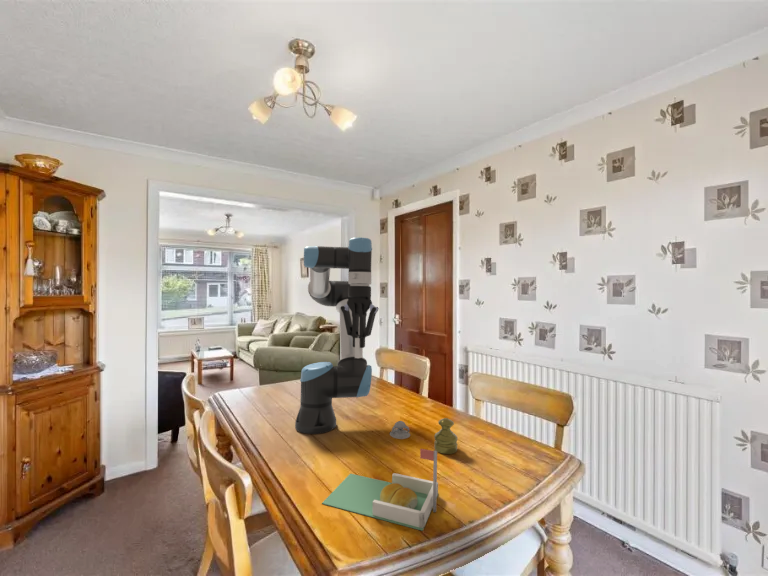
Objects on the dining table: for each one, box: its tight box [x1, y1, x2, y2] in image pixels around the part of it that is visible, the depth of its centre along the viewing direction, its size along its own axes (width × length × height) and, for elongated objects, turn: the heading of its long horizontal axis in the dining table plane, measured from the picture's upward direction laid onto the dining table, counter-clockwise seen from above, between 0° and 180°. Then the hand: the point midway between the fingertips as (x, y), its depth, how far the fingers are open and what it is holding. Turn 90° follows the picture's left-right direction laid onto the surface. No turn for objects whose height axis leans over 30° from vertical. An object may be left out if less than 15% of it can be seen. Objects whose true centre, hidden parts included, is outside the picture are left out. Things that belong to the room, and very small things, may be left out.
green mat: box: [321, 473, 439, 531], centre depth 89 cm, size 25×15×1 cm, turn 69°
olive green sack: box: [433, 417, 458, 455], centre depth 117 cm, size 7×7×10 cm
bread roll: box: [380, 482, 418, 509], centre depth 86 cm, size 8×9×4 cm
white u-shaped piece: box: [372, 448, 439, 529], centre depth 86 cm, size 13×14×14 cm
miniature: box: [389, 420, 411, 440], centre depth 128 cm, size 8×8×5 cm
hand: (358, 357), depth 117 cm, fingers closed
